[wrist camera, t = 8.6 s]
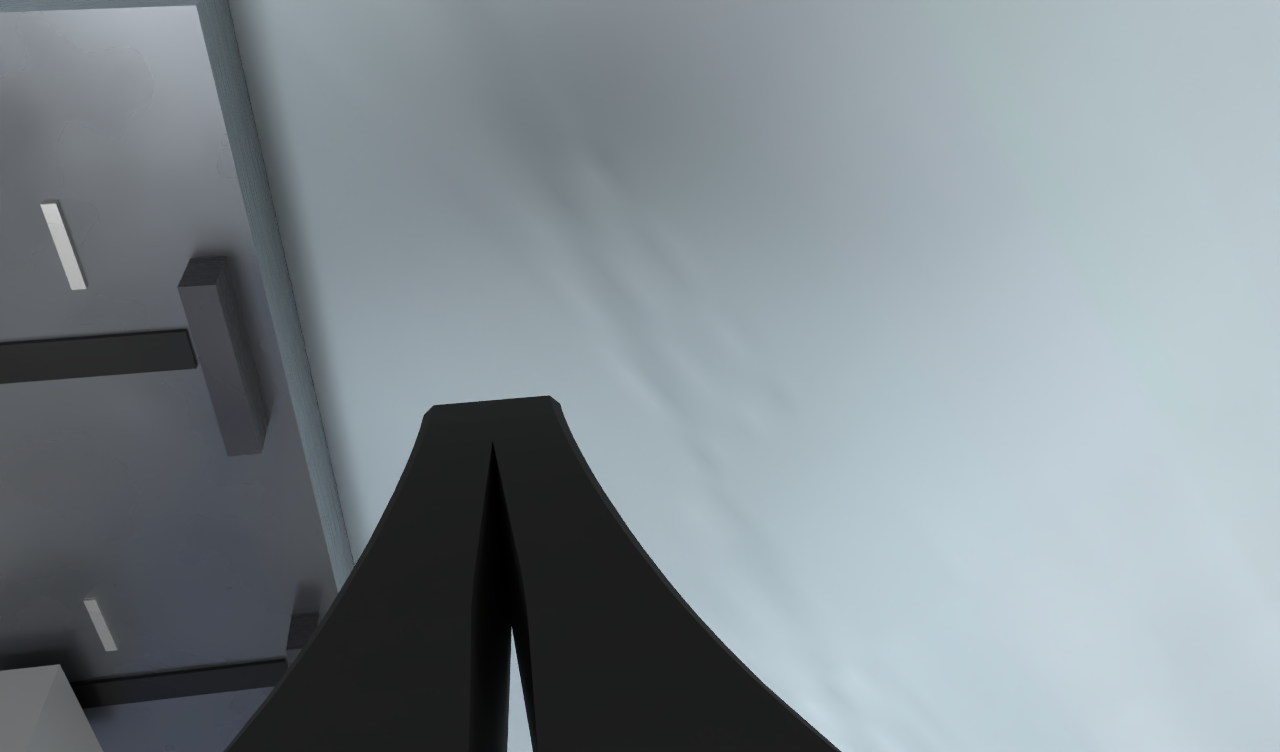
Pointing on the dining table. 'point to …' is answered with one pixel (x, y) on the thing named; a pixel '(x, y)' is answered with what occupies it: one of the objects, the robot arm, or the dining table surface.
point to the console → (151, 379)
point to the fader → (42, 713)
